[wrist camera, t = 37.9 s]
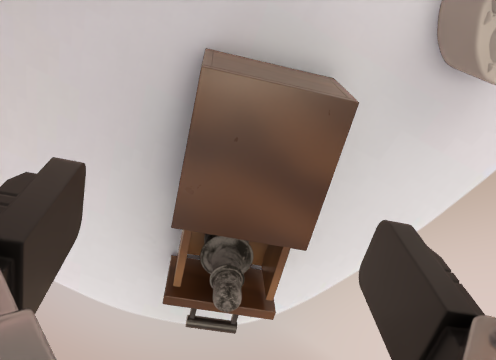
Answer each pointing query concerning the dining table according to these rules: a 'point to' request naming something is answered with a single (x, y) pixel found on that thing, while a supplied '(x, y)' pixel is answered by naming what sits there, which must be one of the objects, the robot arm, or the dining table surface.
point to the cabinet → (260, 150)
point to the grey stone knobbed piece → (226, 268)
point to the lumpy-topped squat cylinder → (469, 37)
